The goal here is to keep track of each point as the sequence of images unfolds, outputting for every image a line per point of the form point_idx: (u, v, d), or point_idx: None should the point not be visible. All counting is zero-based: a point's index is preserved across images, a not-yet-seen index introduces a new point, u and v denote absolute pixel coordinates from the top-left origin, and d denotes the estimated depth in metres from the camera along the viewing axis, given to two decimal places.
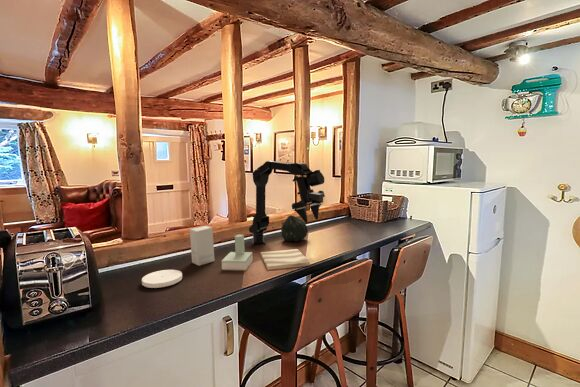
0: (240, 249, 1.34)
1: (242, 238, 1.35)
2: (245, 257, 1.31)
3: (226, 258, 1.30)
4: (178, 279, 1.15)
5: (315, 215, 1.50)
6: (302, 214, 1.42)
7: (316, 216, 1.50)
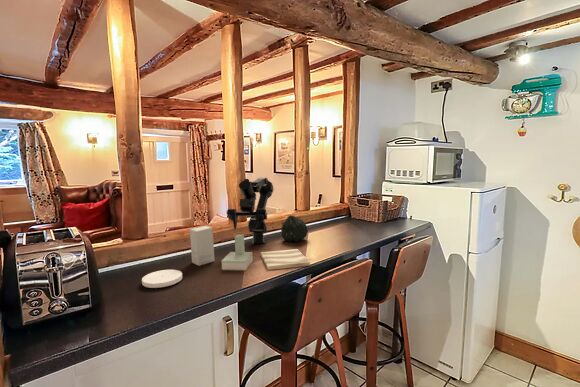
0: (240, 249, 1.34)
1: (242, 238, 1.35)
2: (245, 257, 1.31)
3: (226, 258, 1.30)
4: (178, 279, 1.15)
5: None
6: None
7: None
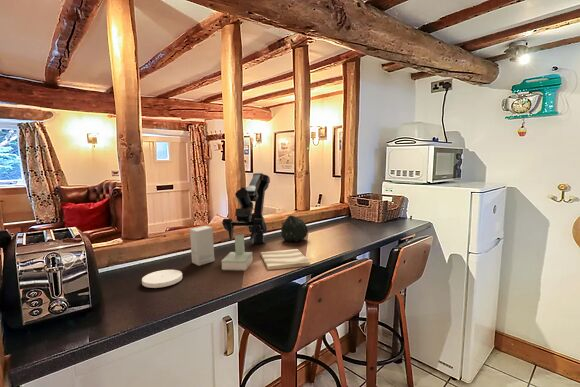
0: (240, 249, 1.34)
1: (242, 238, 1.35)
2: (245, 257, 1.31)
3: (226, 258, 1.30)
4: (178, 279, 1.15)
5: None
6: None
7: None
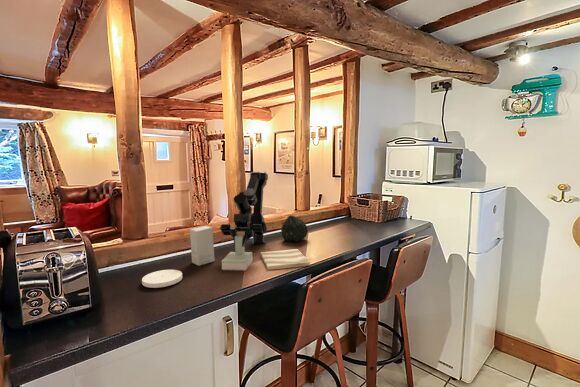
0: (240, 249, 1.34)
1: (242, 238, 1.35)
2: (245, 257, 1.31)
3: (226, 258, 1.30)
4: (178, 279, 1.15)
5: None
6: None
7: None
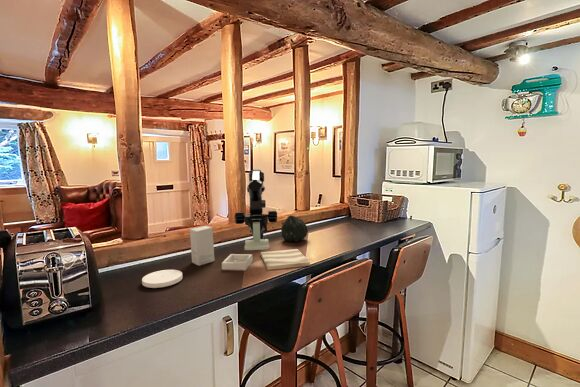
0: (258, 236, 1.34)
1: (259, 225, 1.35)
2: (266, 243, 1.31)
3: (247, 245, 1.29)
4: (178, 279, 1.15)
5: (260, 229, 1.36)
6: (250, 226, 1.37)
7: (260, 230, 1.35)
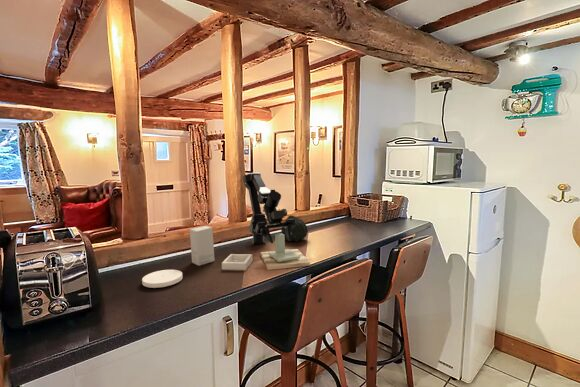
0: (283, 247, 1.39)
1: None
2: (293, 253, 1.37)
3: (278, 257, 1.33)
4: (178, 279, 1.15)
5: (288, 237, 1.42)
6: (267, 235, 1.39)
7: (288, 237, 1.41)
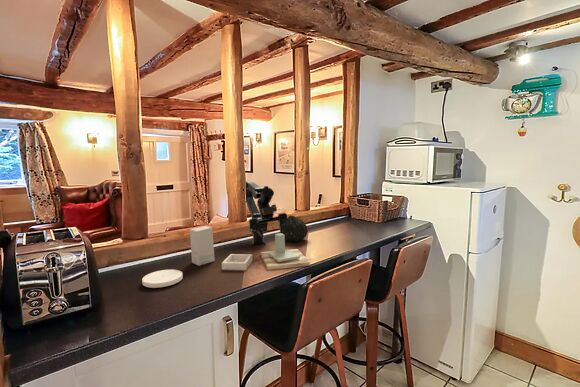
0: (283, 247, 1.39)
1: None
2: (293, 253, 1.37)
3: (278, 257, 1.33)
4: (178, 279, 1.15)
5: (280, 230, 1.50)
6: (258, 231, 1.49)
7: (280, 231, 1.49)
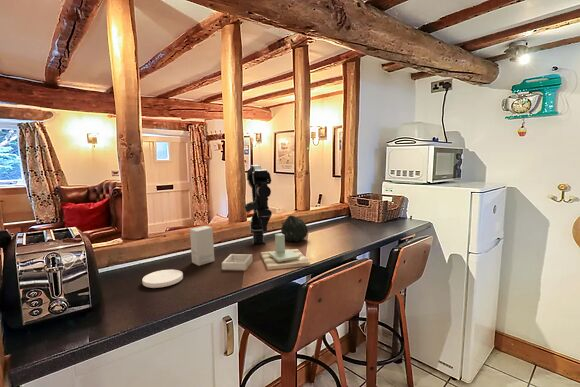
0: (283, 247, 1.39)
1: None
2: (293, 253, 1.37)
3: (278, 257, 1.33)
4: (179, 279, 1.15)
5: None
6: None
7: None
